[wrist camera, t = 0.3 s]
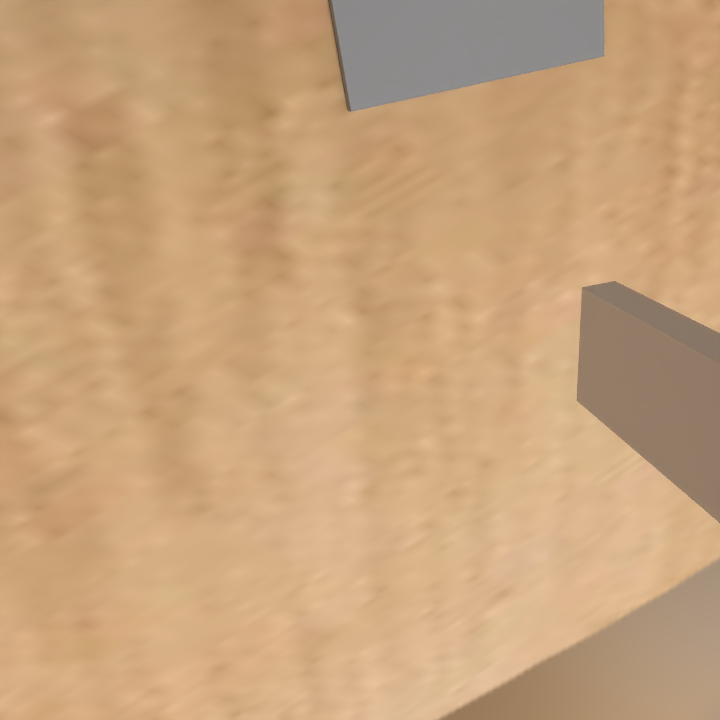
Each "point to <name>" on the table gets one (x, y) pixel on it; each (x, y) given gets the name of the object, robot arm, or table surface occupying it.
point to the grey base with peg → (456, 43)
